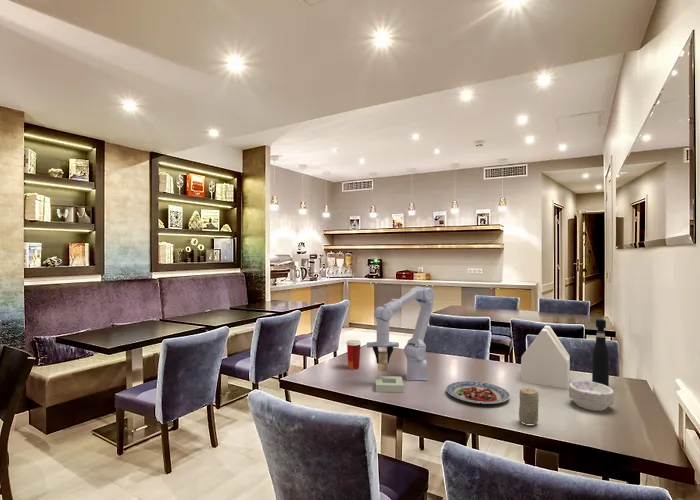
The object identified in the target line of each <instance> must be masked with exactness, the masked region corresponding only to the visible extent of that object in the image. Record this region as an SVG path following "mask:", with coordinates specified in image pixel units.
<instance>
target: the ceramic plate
mask: <svg viewBox="0 0 700 500" xmlns="http://www.w3.org/2000/svg"><path fill="white" fill-rule="evenodd" d="M445 391H446V392H447V393H448V394H449V396H451V397H454V398H455V399H458V400H461V401H463V402H468V403H473V404H480V403H481V404H483V405H487V404H489V405H492V404H493V405H495V404H500V403H505V402H507V401H508V400H510V397H511V394H510V392H509V391H508V390H507V389H505V388H503V387H502V386H498V385H496V384H491V383H489V382H482V381H475V380H473V381H472V380H471V381H469V380H464V381H456V382H451V383H450V384H448V385H447V386H446V389H445Z"/></svg>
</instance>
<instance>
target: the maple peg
mask: <svg viewBox="0 0 700 500" xmlns="http://www.w3.org/2000/svg"><path fill="white" fill-rule="evenodd" d="M378 359H379V364H377V370H378V372H388V354H387V350H386V351H383V350H382V351H380V350H379V352H378Z"/></svg>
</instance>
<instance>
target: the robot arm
mask: <svg viewBox="0 0 700 500" xmlns="http://www.w3.org/2000/svg"><path fill="white" fill-rule="evenodd" d="M435 295H436V294H435V292H434V289H433V288H431V287H427V286H426V287H425V286H424V287H423V286H418V285H416V286H414V287H412V288H411V289H410V290H409V291H408V292H407V293H405V294H404V295H402V296H401V297H399V298H398V299H397V298H392V299H390V301H389V302H387V303H384V304H383V306H378V307H377V308H376V309H375V310H374V313H373V315H374V318H375V321H376V341H372V342H366V348H368V349H369V348H372V351H373V353H374V355H375V358H376V364H377V365H378V364H379V359H378V352H379V351H380V350H379V348H386V351H387V354H388V364H389V363H390V358H391V356H392V354H393V352H394V348H400V343H399V342H396V341H390V320H391V319H392V317H393V315H395V314H396V313H398V312H399V311H401V310H403V309H402V308H403V306H404V305H406V304H408V303H409V302H412V301H414V300H415V301H417V303H418V304H419V305H420V309H419V313H418V316H417V320H416V324H415V327H414V331H413V334H412V337H411V338H409V339H408V340H407V342H406V345H405V346H404V349H403V353H404V356H405V357H406V373H405V374H404V375H405V378H406V380H408V381H427V380H428V376H427V375H428V365H427V363H428V362H427V359H425V357H426V355H427V353H426V351H427V345H426V343H425V342H424V340H425V336H426V333H427V329H428V326H429V322H430V318H431V315H432V312H433V307H434V298H435Z"/></svg>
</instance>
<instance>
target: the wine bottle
mask: <svg viewBox="0 0 700 500" xmlns="http://www.w3.org/2000/svg"><path fill="white" fill-rule="evenodd" d="M606 326H607V321H606V320H605V319H595V328H597V332H596V336H595V344H594V346H593V349H592V354H591V355H592V357H591V359H592V360H591V362H592V363H591V364H592V365H591V366H592V367H591V368H592V372H591V373H592V375H591V376H592V378H591V382H596V383H600V384H603V385H606V386H608V387H610V386H609V385H610V376H609V375H610V372H609V371H610V353H609V349H608V346H607V344H606V342H607V340H606V334H605V329H606V328H607V327H606Z"/></svg>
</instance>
